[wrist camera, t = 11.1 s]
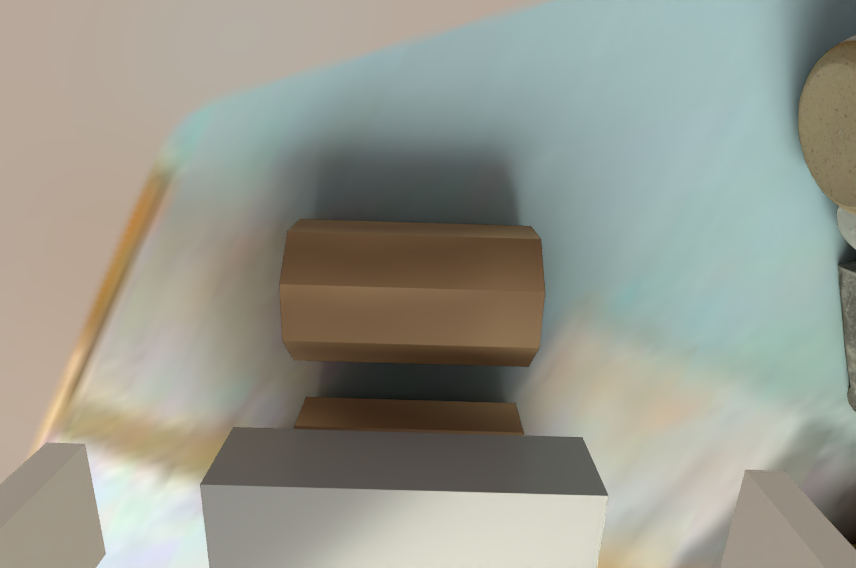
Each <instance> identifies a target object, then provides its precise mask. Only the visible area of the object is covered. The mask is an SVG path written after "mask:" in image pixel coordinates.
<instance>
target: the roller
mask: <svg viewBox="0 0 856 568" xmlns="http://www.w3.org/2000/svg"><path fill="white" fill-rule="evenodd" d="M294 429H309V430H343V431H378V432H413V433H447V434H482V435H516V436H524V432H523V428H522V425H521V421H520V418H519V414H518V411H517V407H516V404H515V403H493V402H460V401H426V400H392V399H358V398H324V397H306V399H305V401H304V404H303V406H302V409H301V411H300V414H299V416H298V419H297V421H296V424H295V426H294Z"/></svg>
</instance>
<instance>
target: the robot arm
mask: <svg viewBox="0 0 856 568" xmlns="http://www.w3.org/2000/svg"><path fill="white" fill-rule="evenodd" d="M105 554H106V553H105V547H104V542H103V537H102V531H101V526H100V521H99V515H98V510H97V505H96V500H95V494H94V489H93V484H92V478H91V473H90V468H89V462H88V457H87V452H86V446H85V444H70V443H46V444H45V445H44V446H42V447H41V448H40V449H39V450H38V451H37V452H36V453H35V454H33V455H32V456H31V457H30V458H29V459H28V460H27V461H26V462H25V463H23V464H22V465H21V466H20V467H19V468H18V469H17V470H16V471H15V472H13V473H12V474H11V475H10V476H9V477H8V478H7V479H6V480H4V481H3V482H2V483H1V484H0V568H96V567H97V565H98V564H99V562H100V561H101V560H102V558H103V557H104V555H105ZM720 568H856V550H855V549H854V548H853V546H852V545H851V544H850V543H849V542H848V541H847V540H846V539H845V538H844V537H843V535H842V534H841V533H840V532H839V531H838V530H837V529H836V528H835V527H834V526H833V524H832V523H831V522H830V521H829V520H828V519H827V518H826V517H825V516H824V515H823V513H822V512H821V511H820V510H819V509H818V508H817V507H816V506H815V505H814V504H813V503H812V501H811V500H810V499H809V498H808V497H807V496H806V495H805V494H804V493H803V492H802V490H801V489H800V488H799V487H798V486H797V485H796V484H795V483H794V482H793V481H792V479H791V478H790V477H789V476H788V475H787V474H786V473H785V472H784V471H763V470H745V473H744V477H743V481H742V485H741V489H740V493H739V497H738V500H737V504H736V508H735V512H734V516H733V520H732V524H731V528H730V532H729V536H728V540H727V544H726V548H725V551H724V555H723V559H722V563H721V567H720Z"/></svg>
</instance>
